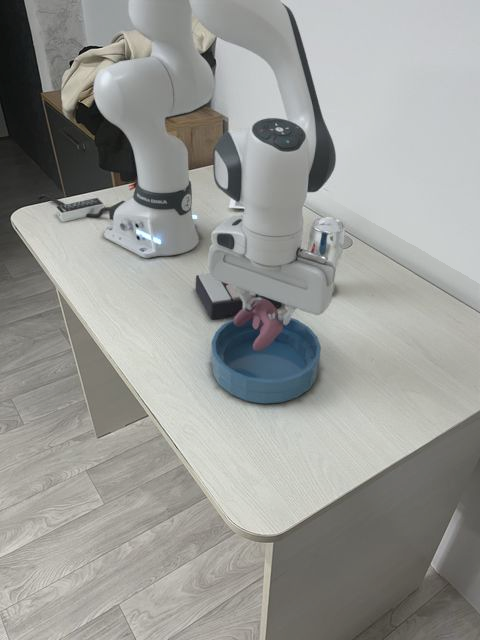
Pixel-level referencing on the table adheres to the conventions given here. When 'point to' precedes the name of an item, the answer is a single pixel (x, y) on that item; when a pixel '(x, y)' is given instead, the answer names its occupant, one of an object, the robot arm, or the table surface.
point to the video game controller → (261, 322)
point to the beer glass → (327, 239)
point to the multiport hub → (79, 209)
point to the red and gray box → (221, 297)
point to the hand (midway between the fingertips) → (266, 315)
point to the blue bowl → (265, 362)
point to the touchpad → (235, 204)
